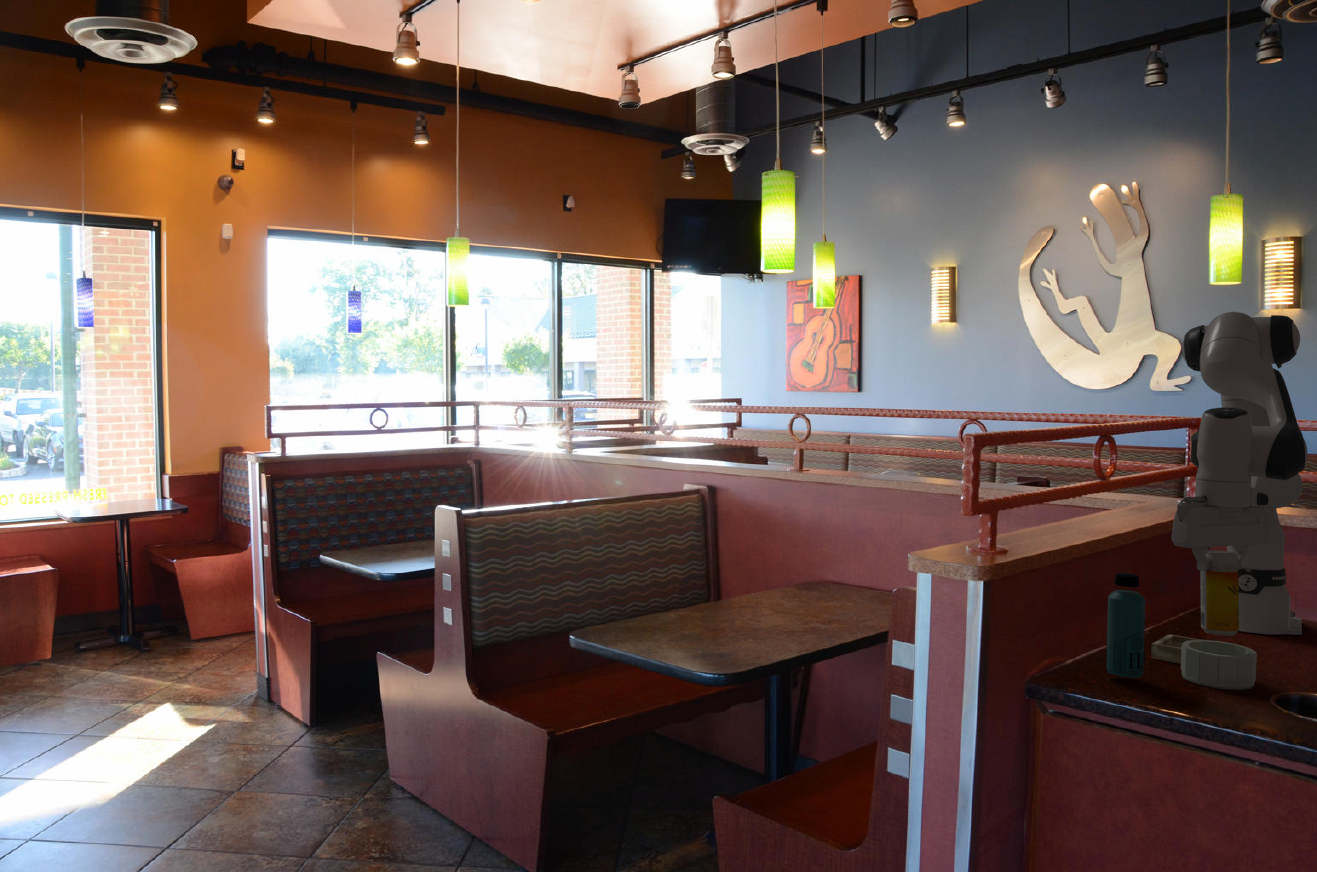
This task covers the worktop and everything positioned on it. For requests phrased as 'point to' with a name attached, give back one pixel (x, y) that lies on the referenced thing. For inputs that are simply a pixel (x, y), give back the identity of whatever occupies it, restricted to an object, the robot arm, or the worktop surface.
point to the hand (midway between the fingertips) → (1219, 569)
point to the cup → (1218, 664)
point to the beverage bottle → (1126, 629)
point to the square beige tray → (1169, 648)
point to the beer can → (1220, 594)
